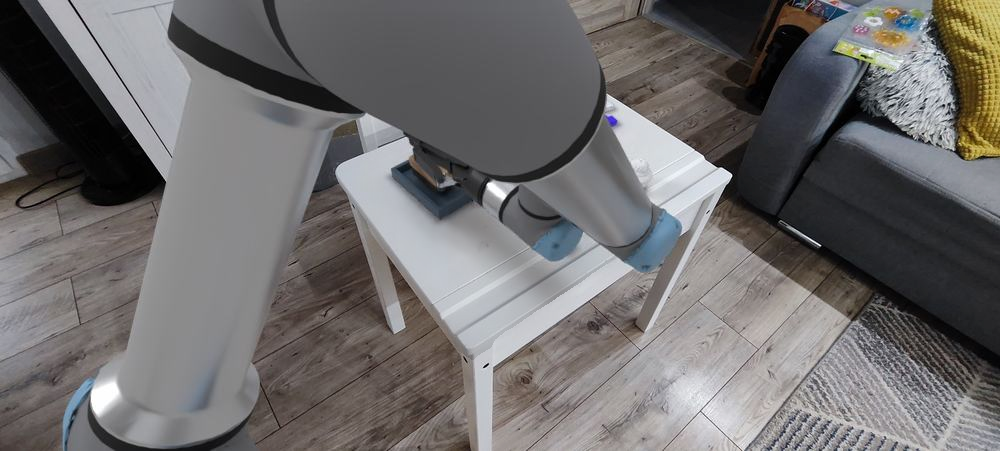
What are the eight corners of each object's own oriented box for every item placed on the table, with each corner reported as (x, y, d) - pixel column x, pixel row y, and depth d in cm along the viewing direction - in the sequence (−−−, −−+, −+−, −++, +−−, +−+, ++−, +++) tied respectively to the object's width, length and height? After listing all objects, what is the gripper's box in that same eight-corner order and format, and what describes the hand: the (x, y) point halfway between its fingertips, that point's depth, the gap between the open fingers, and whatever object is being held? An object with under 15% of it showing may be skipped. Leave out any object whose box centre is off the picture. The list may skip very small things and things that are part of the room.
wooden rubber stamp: (459, 183, 88) (455, 125, 78) (437, 196, 86) (430, 137, 76) (433, 162, 92) (426, 104, 82) (411, 174, 90) (401, 115, 80)
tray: (439, 219, 84) (438, 211, 82) (392, 177, 92) (390, 168, 90) (533, 163, 95) (534, 154, 94) (484, 129, 103) (484, 120, 101)
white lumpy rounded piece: (631, 202, 88) (640, 174, 83) (610, 183, 92) (617, 156, 86) (654, 190, 90) (664, 163, 85) (633, 173, 94) (641, 146, 89)
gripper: (459, 229, 72) (378, 157, 83) (531, 184, 79) (448, 123, 91) (456, 195, 66) (370, 123, 78) (534, 149, 74) (445, 89, 85)
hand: (412, 123), depth 84 cm, fingers closed on wooden rubber stamp, 3 cm apart
